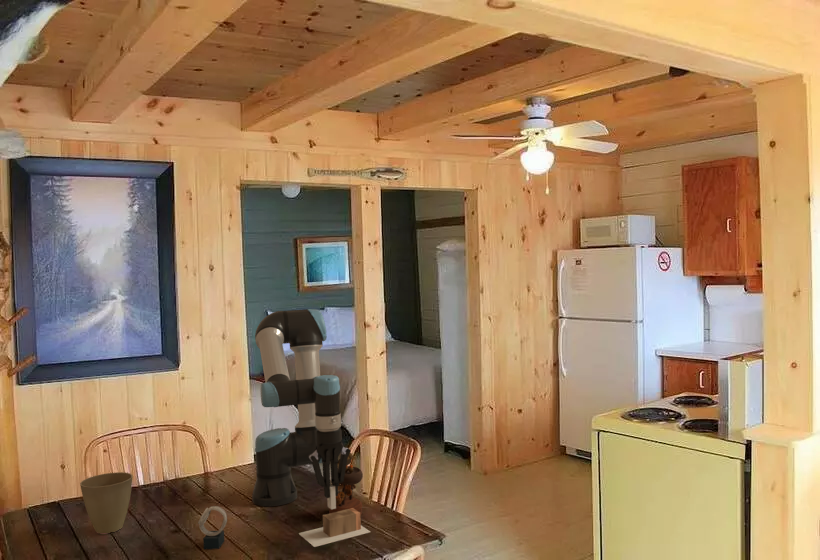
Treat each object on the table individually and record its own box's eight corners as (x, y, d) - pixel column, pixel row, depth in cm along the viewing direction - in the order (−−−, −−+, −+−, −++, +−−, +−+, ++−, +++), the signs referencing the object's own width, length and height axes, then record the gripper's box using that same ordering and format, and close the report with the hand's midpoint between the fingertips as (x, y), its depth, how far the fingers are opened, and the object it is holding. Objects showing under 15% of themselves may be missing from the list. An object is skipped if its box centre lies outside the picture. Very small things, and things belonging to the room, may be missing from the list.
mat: (298, 534, 203) (298, 533, 203) (352, 520, 212) (352, 519, 212) (314, 547, 192) (314, 546, 192) (370, 532, 202) (370, 531, 202)
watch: (203, 541, 200) (201, 504, 200) (230, 540, 200) (228, 503, 200) (196, 549, 194) (195, 511, 194) (225, 548, 194) (223, 510, 194)
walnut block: (322, 515, 203) (352, 507, 208) (323, 531, 203) (353, 524, 208) (329, 520, 199) (360, 512, 204) (330, 537, 199) (360, 529, 204)
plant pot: (145, 523, 216) (142, 473, 216) (110, 541, 202) (108, 488, 202) (107, 519, 221) (105, 470, 221) (71, 537, 207) (68, 485, 207)
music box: (355, 524, 209) (352, 459, 208) (322, 522, 212) (319, 458, 211) (371, 506, 223) (368, 446, 223) (339, 504, 226) (337, 445, 226)
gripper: (313, 434, 194) (316, 516, 195) (354, 427, 201) (357, 506, 202) (302, 429, 201) (306, 508, 201) (343, 422, 208) (346, 499, 208)
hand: (331, 507), depth 202 cm, fingers closed
